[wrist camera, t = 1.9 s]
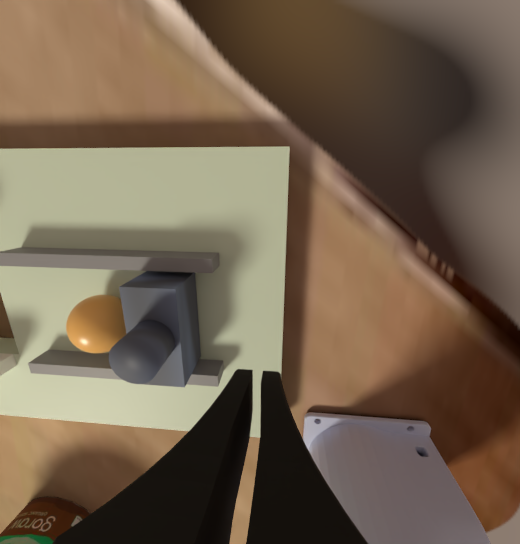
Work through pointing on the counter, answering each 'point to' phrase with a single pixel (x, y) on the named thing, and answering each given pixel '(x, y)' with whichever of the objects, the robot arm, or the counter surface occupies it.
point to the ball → (96, 323)
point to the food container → (43, 521)
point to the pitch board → (139, 271)
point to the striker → (158, 330)
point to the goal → (6, 362)
